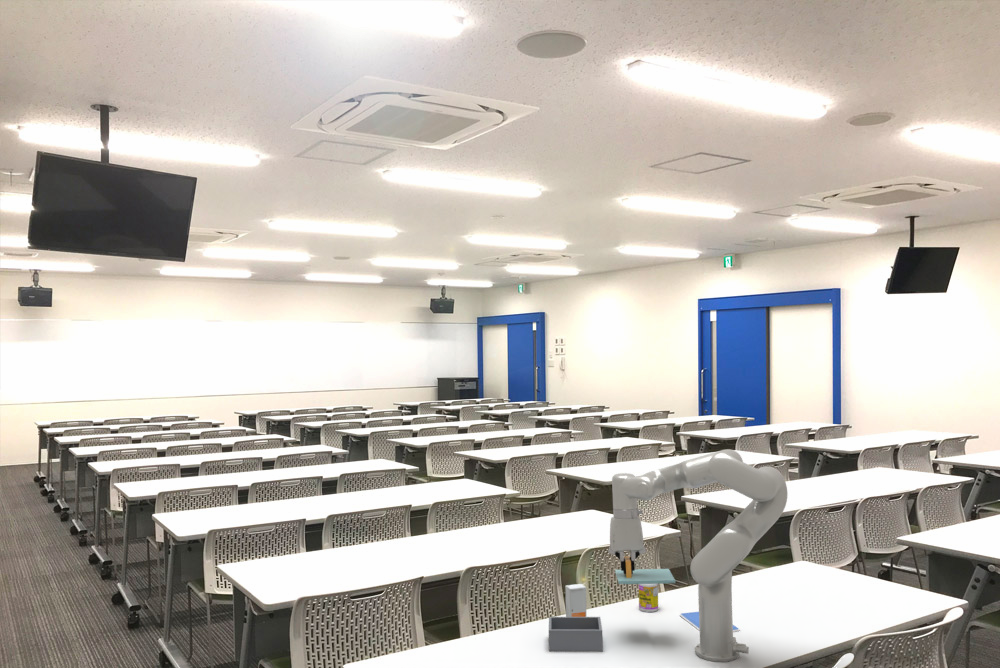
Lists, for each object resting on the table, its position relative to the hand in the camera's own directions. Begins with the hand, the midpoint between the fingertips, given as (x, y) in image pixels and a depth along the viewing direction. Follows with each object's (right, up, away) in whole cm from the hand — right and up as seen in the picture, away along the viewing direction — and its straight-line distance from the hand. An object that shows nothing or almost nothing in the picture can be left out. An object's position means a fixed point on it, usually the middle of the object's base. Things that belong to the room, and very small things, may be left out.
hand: (627, 572), depth 237 cm
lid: (+5, -1, 0) cm, 5 cm away
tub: (-17, -21, -5) cm, 27 cm away
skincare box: (-14, -22, +17) cm, 31 cm away
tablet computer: (+29, -21, +13) cm, 38 cm away
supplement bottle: (+12, -22, +28) cm, 37 cm away
